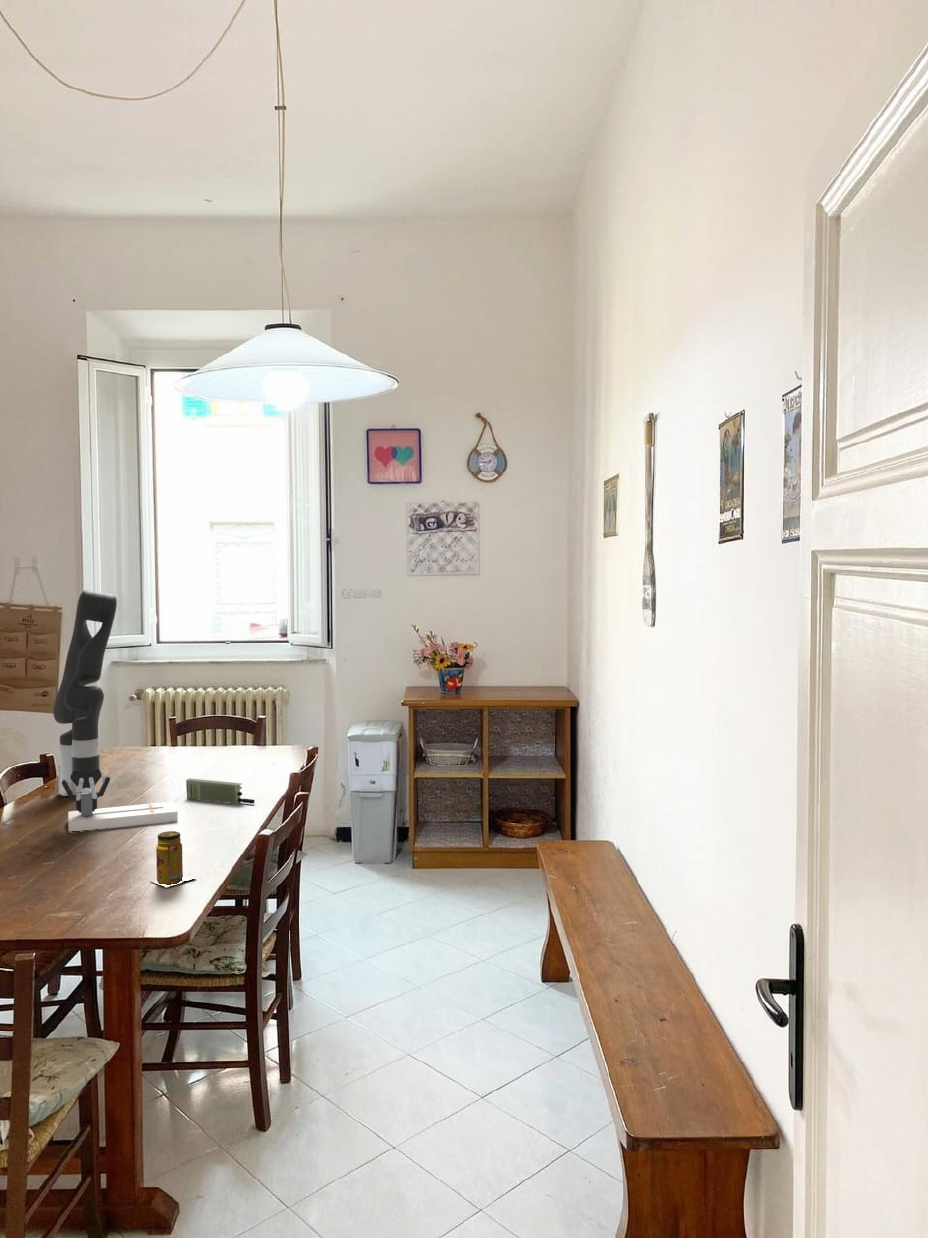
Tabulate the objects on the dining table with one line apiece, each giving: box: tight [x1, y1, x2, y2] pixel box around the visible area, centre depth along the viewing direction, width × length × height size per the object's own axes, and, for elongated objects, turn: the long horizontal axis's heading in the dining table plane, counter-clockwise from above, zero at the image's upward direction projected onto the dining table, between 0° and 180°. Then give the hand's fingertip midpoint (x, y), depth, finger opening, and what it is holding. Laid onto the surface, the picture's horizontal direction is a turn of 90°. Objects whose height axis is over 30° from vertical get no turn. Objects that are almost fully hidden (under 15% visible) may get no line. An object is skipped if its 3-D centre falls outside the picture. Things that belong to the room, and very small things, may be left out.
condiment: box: [155, 830, 184, 885], centre depth 220 cm, size 7×8×12 cm
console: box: [67, 801, 179, 832], centre depth 270 cm, size 30×12×3 cm, turn 114°
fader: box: [80, 791, 92, 816], centre depth 265 cm, size 3×5×6 cm, turn 24°
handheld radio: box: [185, 778, 256, 805], centre depth 293 cm, size 7×3×25 cm
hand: (86, 811), depth 266 cm, fingers closed on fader, 3 cm apart
